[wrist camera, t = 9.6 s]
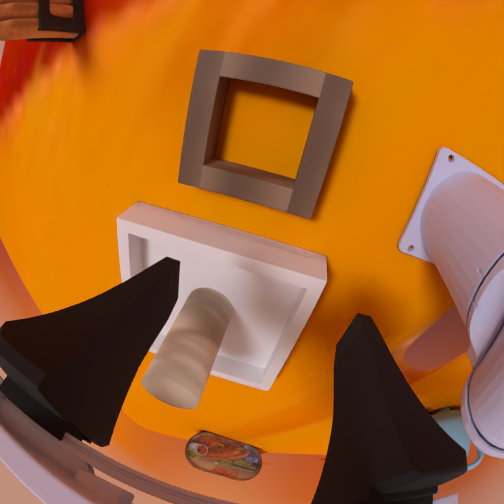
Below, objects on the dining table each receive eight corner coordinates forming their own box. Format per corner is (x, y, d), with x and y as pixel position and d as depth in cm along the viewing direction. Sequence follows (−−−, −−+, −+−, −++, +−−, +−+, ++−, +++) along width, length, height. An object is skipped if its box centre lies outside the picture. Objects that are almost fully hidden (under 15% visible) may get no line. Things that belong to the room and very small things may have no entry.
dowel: (232, 292, 22) (193, 387, 14) (233, 326, 24) (201, 414, 16) (185, 283, 22) (134, 369, 15) (191, 317, 25) (150, 398, 17)
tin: (266, 449, 44) (257, 484, 37) (259, 451, 46) (251, 485, 39) (194, 425, 44) (180, 461, 37) (191, 428, 45) (177, 463, 38)
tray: (326, 256, 20) (327, 281, 17) (272, 368, 28) (268, 391, 25) (138, 201, 20) (116, 217, 18) (143, 324, 29) (131, 343, 26)
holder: (348, 83, 13) (353, 81, 12) (310, 206, 18) (310, 219, 16) (212, 53, 14) (199, 49, 12) (190, 173, 18) (178, 182, 17)
